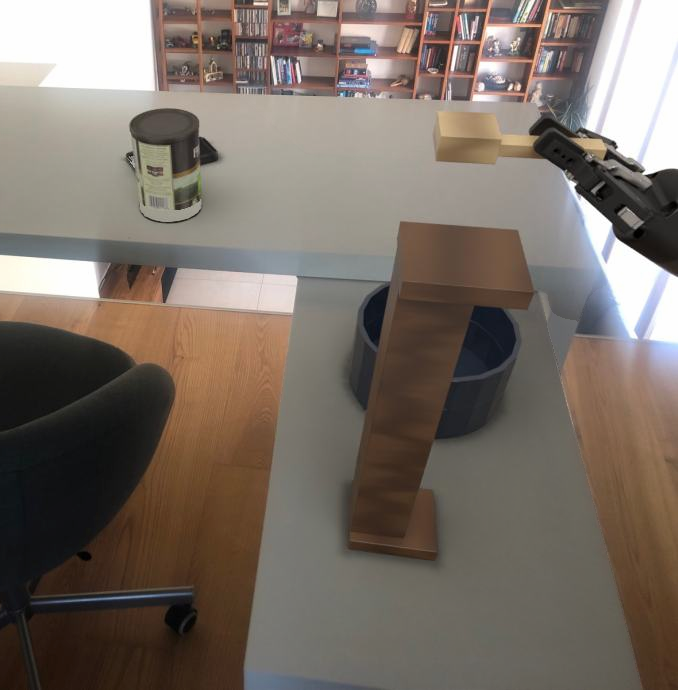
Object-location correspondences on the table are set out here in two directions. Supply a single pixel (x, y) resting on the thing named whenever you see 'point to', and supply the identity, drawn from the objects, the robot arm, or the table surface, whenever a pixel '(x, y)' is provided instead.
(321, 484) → the table surface
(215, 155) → the phone
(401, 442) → the stand
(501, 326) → the pot
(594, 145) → the t-shaped wooden block
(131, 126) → the coffee can
